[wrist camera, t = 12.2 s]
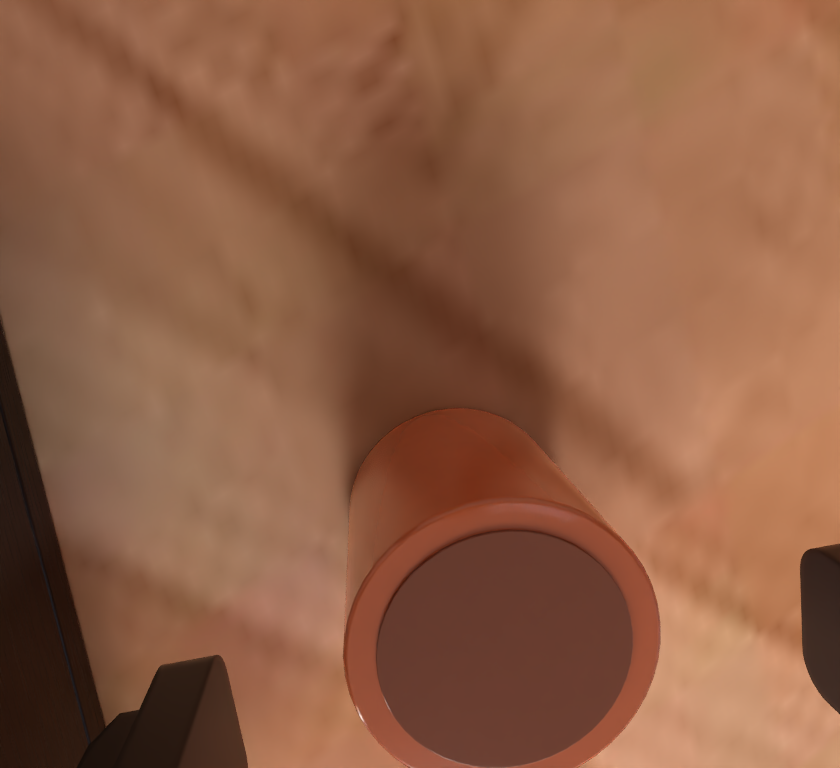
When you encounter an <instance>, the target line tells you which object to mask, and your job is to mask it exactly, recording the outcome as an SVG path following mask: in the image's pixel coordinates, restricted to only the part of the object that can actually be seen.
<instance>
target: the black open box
mask: <svg viewBox="0 0 840 768" xmlns="http://www.w3.org/2000/svg"><path fill="white" fill-rule="evenodd" d="M104 729H105V725H104V721H103V717H102V714H101V710H100V706H99V702H98V698H97V694H96V690H95V686H94V682H93V679H92V675H91V671H90V667H89V663H88V659H87V655H86V651H85V648H84V644H83V640H82V636H81V632H80V628H79V624H78V620H77V616H76V613H75V609H74V605H73V601H72V597H71V593H70V589H69V585H68V581H67V578H66V574H65V570H64V566H63V562H62V558H61V554H60V550H59V546H58V543H57V539H56V535H55V531H54V527H53V523H52V519H51V515H50V512H49V508H48V504H47V500H46V496H45V492H44V488H43V484H42V480H41V477H40V473H39V469H38V465H37V461H36V457H35V453H34V449H33V445H32V442H31V438H30V434H29V430H28V426H27V422H26V418H25V414H24V410H23V407H22V403H21V399H20V395H19V391H18V387H17V383H16V379H15V376H14V372H13V368H12V364H11V360H10V356H9V352H8V348H7V344H6V341H5V337H4V333H3V329H2V325H1V321H0V768H77V766H78V764H79V762H80V760H81V758H82V756H83V754H84V752H85V750H86V749H87V747H88V745H89V744H90V743H91V742H92V741H93V740H94V739H95V738H96V737H97V736H98V735H99V734H100V733H101V732H102V731H103V730H104Z"/></svg>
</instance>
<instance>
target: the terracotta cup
mask: <svg viewBox="0 0 840 768" xmlns="http://www.w3.org/2000/svg"><path fill="white" fill-rule="evenodd" d="M659 649H660V616H659V610H658V603H657V600H656V596H655V593H654V590H653V586H652V584H651V581H650V579H649V577H648V575H647V573H646V571H645V569H644V567H643V565H642V564H641V562H640V561H639V559H638V558H637V556H636V555H635V553H634V552H633V551H632V549H631V548H630V547H629V546H628V545H627V544H626V543H625V542H624V540H623V539H622V538H621V537H620V536H619V535H618V534H617V533H616V531H615V530H614V529H613V528H612V527H611V526H610V525H609V524H608V523H607V521H606V520H605V519H604V518H603V517H602V516H601V515H600V514H599V513H598V511H597V510H596V509H595V508H594V507H593V506H592V505H591V504H590V502H589V501H588V500H587V499H586V498H585V497H584V496H583V495H582V494H581V492H580V491H579V490H578V489H577V488H576V487H575V486H574V485H573V484H572V482H571V481H570V480H569V479H568V478H567V477H566V476H565V475H564V473H563V472H562V471H561V470H560V469H559V468H558V467H557V466H556V465H555V463H554V462H553V461H552V460H551V459H550V458H549V457H548V456H547V455H546V453H545V452H544V451H543V450H542V449H541V448H540V447H539V446H538V444H537V443H536V442H535V441H534V440H533V439H532V438H531V437H530V436H529V435H528V434H527V433H526V432H524V431H523V430H522V429H521V428H519V427H518V426H516V425H515V424H513V423H512V422H510V421H508V420H506V419H504V418H502V417H500V416H498V415H495V414H491V413H488V412H485V411H480V410H475V409H465V408H451V409H441V410H436V411H432V412H427V413H425V414H422V415H419V416H416V417H414V418H412V419H410V420H408V421H406V422H404V423H402V424H400V425H399V426H397V427H396V428H394V429H393V430H392V431H390V432H389V433H388V434H387V435H386V436H384V437H383V438H382V439H381V440H380V441H379V442H378V443H377V444H376V445H375V447H374V448H373V449H372V450H371V451H370V453H369V454H368V456H367V457H366V459H365V460H364V462H363V463H362V465H361V467H360V469H359V471H358V473H357V475H356V478H355V482H354V485H353V488H352V492H351V498H350V509H349V532H348V556H347V579H346V602H345V625H344V648H343V660H344V670H345V678H346V682H347V686H348V690H349V693H350V696H351V699H352V701H353V704H354V706H355V708H356V711H357V713H358V714H359V716H360V718H361V719H362V721H363V723H364V724H365V726H366V728H367V729H368V730H369V732H370V733H371V734H372V735H373V737H374V738H375V739H376V740H377V741H378V743H379V744H380V745H381V746H382V747H383V748H384V749H385V750H386V751H388V752H389V753H390V754H391V755H392V756H393V757H394V758H395V759H397V760H398V761H400V762H401V763H403V764H404V765H405V766H407V767H408V768H577V767H579V766H581V765H582V764H584V763H585V762H587V761H588V760H590V759H591V758H593V757H595V756H596V755H597V754H598V753H600V752H601V751H602V750H603V749H604V748H606V747H607V746H608V745H609V744H610V743H611V742H612V741H613V740H614V739H615V738H616V737H617V736H618V735H619V734H620V733H621V732H622V731H623V730H624V729H625V727H626V726H627V725H628V723H629V722H630V721H631V719H632V718H633V717H634V715H635V714H636V713H637V711H638V709H639V707H640V706H641V704H642V702H643V700H644V699H645V697H646V695H647V692H648V690H649V687H650V685H651V683H652V680H653V677H654V673H655V670H656V666H657V662H658V657H659Z"/></svg>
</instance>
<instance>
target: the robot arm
mask: <svg viewBox="0 0 840 768" xmlns="http://www.w3.org/2000/svg"><path fill="white" fill-rule="evenodd" d="M800 578H801V612H802V646H803V656H804V661H805V664H806V667H807V670H808V673H809V675H810V677H811V680H812V682H813V683H814V685H815V687H816V688H817V690H818V692H819V693H820V694H821V696H822V697H823V698H824V699H825V700H826V701H827V702H828V703H829V704H830V705H831V706H832V707H833V708H834V709H835V710H836V711H837V712H838V713H839V714H840V544H835V545H830V546H824V547H819V548H813V549H809V550H807V551H806V552H805V553H804V554H803V556H802V559H801V564H800ZM77 768H248V763H247V757H246V752H245V747H244V743H243V739H242V734H241V730H240V726H239V721H238V717H237V712H236V708H235V704H234V699H233V695H232V691H231V686H230V682H229V677H228V673H227V669H226V666H225V663H224V661H223V659H222V658H221V656H219V655H214V656H209V657H203V658H198V659H192V660H187V661H181V662H176V663H170V664H165V665H162V666H160V667H159V668H158V670H157V672H156V674H155V676H154V678H153V680H152V683H151V685H150V687H149V689H148V691H147V694H146V696H145V698H144V700H143V702H142V705H141V707H140V709H139V710H136V711H131V712H126V713H120V714H119V715H118V716H117V717H116V718H115V719H114V720H113V721H112V722H111V723H110V724H109V725H108V726H107V727H106V728H105V729H104V730H103V731H102V732H101V733H100V734H99V735H98V736H97V737H96V738H95V739H94V740H93V741H92V742H91V743H90V744H89V745H88V747H87V749H86V750H85V752H84V754H83V756H82V758H81V760H80V762H79V764H78V766H77Z"/></svg>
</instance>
